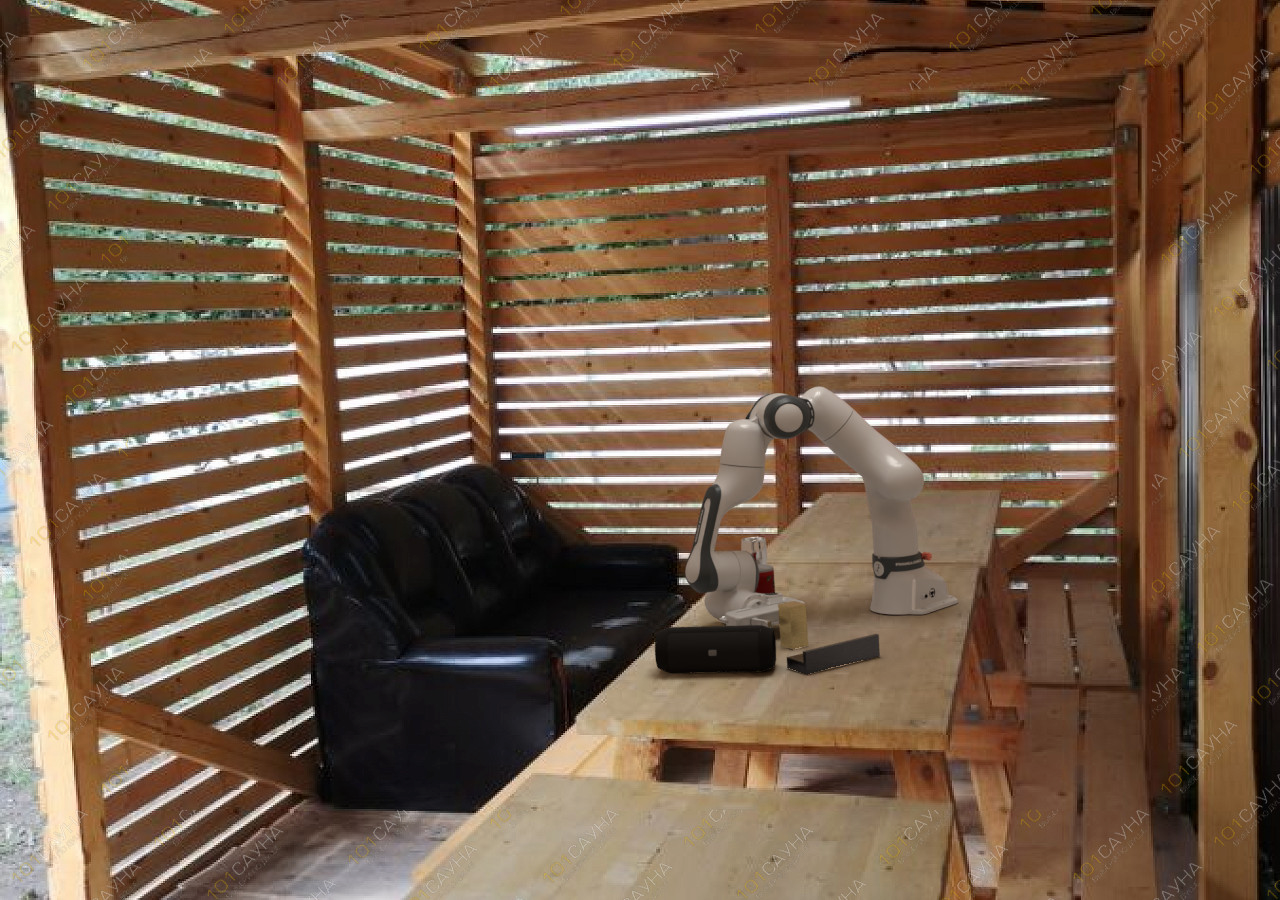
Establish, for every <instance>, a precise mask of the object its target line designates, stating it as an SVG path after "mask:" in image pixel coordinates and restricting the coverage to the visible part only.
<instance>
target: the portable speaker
mask: <svg viewBox="0 0 1280 900" xmlns="http://www.w3.org/2000/svg"><path fill="white" fill-rule="evenodd" d="M654 657H655V663H656V667H657V669H659V670H661V671H663V672H667V673H669V674H694V673H693V672H718V673H754V672H756V671H763V672H765V671H767V670H770V669H772V668H775V667H776V663H777V641H776V634H775V629H774V628H772V627H771V628H769V627H766V626H763V625H743V626H726V625H711V626H709V625H707V626H706V625H705V626H704V625H703V626H702V625H701V626H669V627H665V628H663V629H661V630H659V631H657V632H656V634H655V638H654ZM690 672H692V673H690ZM756 673H757V672H756Z"/></svg>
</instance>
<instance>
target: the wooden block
mask: <svg viewBox="0 0 1280 900" xmlns="http://www.w3.org/2000/svg"><path fill="white" fill-rule="evenodd" d="M804 603H805V602H804ZM804 603H800V602H796V601H791V602H786V603H782V604H778V610H779V624H778V625H779V636H780V637H779V639H780V647H781V646H783V647H787V648H791V649H795V648H799V647H804V646H808V647H809V636H808V635H809V634H808V621H807V620H808V619H807V618H808V617H807V603H805V604H804ZM783 647H782V648H783ZM787 648H786V649H787Z"/></svg>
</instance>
